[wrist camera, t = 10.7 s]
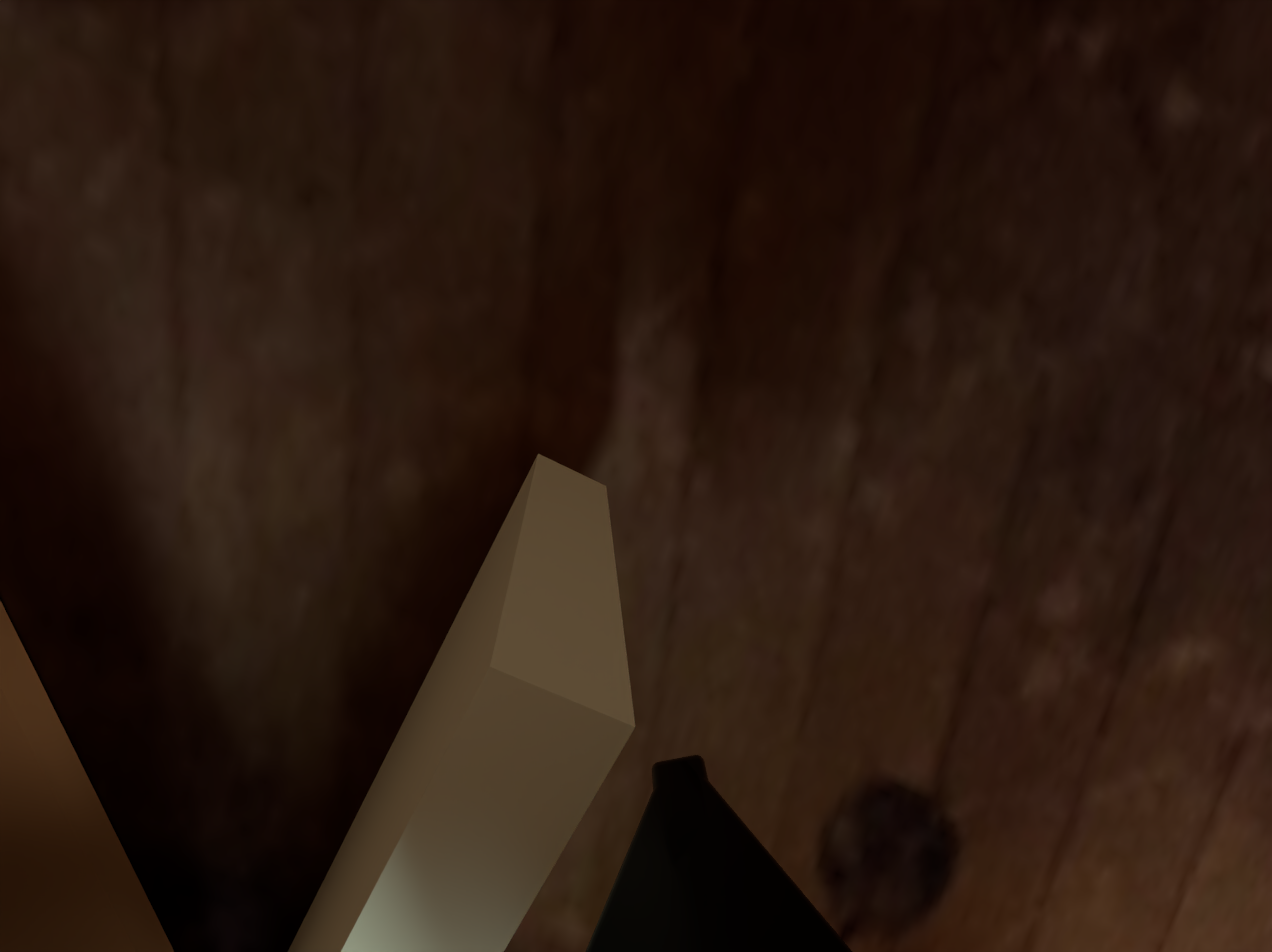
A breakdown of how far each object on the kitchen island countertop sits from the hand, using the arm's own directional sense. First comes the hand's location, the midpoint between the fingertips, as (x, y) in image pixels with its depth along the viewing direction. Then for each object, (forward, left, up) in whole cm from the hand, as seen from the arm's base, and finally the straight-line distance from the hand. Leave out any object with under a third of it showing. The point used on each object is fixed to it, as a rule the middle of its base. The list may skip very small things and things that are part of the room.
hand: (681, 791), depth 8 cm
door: (-2, +4, -3) cm, 5 cm away
